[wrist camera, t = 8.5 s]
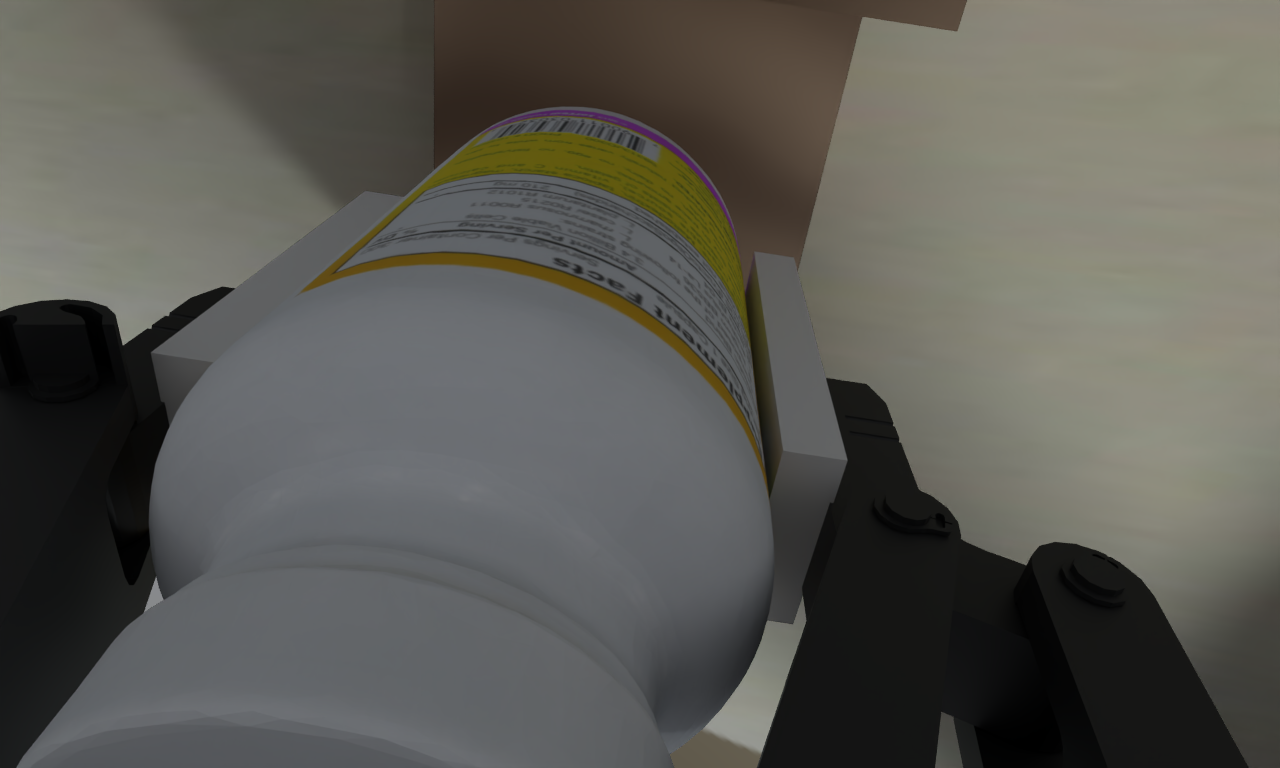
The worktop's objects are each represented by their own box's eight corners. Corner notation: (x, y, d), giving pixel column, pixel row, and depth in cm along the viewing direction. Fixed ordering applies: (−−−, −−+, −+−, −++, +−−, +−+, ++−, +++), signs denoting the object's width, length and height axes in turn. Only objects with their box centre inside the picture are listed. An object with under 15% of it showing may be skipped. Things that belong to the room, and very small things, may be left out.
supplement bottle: (568, 443, 19) (364, 1172, 8) (364, 232, 17) (-338, 841, 5) (806, 291, 16) (1003, 1035, 5) (606, 19, 14) (220, 334, 3)
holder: (760, 388, 29) (782, 590, 20) (446, 339, 29) (328, 519, 20) (883, -108, 21) (1011, -141, 12) (451, -175, 21) (259, -258, 12)
